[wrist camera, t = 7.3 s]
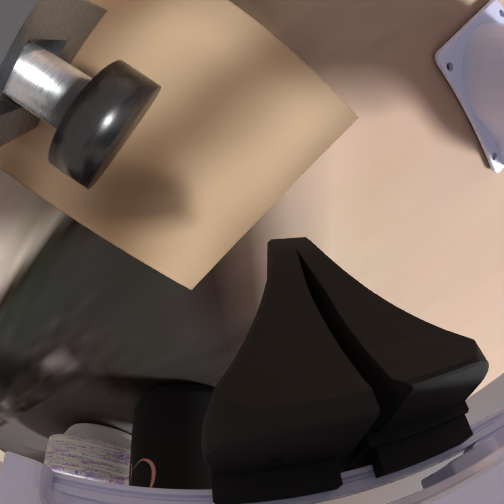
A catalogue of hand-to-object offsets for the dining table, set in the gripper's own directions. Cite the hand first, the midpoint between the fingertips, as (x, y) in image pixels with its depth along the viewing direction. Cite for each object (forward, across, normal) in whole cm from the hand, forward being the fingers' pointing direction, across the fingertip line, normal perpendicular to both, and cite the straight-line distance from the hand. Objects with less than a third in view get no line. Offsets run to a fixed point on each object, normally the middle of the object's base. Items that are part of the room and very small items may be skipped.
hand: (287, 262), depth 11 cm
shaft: (+3, +11, -10) cm, 15 cm away
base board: (+6, +8, -7) cm, 12 cm away
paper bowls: (+6, +20, +31) cm, 37 cm away
